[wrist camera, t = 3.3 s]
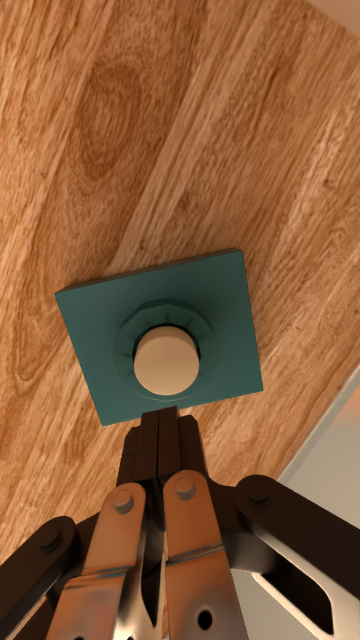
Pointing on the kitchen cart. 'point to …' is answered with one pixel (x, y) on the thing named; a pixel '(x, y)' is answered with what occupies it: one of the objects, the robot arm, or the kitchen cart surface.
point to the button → (166, 360)
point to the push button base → (164, 310)
